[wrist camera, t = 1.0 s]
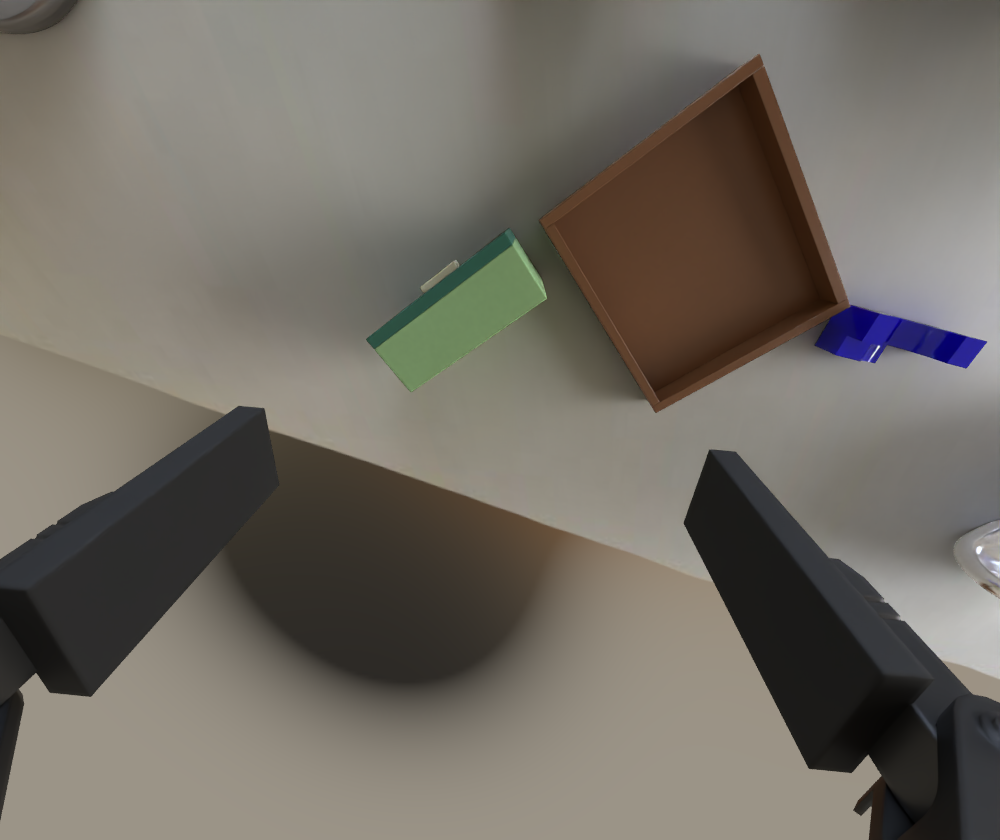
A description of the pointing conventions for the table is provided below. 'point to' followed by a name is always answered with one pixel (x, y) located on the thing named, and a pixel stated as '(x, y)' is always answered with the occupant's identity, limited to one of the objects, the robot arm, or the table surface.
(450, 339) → the box
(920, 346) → the cable holder
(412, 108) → the table surface
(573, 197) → the tray
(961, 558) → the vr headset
